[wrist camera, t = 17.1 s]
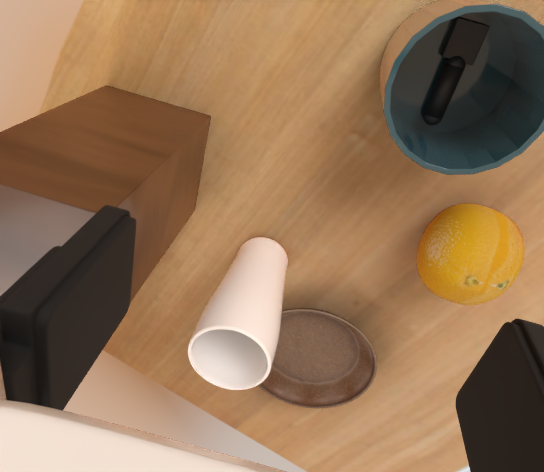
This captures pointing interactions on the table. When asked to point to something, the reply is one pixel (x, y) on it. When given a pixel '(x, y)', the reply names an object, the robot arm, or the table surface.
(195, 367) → the tall white cup
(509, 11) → the tumbler
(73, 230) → the stand
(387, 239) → the table surface
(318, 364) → the saucer
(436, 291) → the fruit
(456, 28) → the dark grey mallet
